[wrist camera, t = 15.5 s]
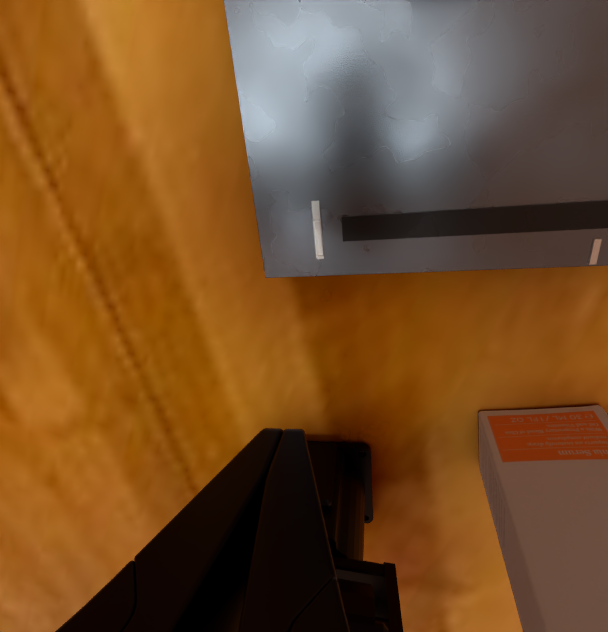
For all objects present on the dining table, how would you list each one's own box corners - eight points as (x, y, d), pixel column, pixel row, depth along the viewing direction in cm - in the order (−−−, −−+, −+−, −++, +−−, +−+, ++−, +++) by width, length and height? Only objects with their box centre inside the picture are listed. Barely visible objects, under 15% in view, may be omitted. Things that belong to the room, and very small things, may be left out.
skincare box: (600, 400, 21) (821, 699, 11) (592, 462, 23) (775, 769, 13) (473, 407, 23) (558, 679, 12) (475, 465, 24) (550, 745, 14)
